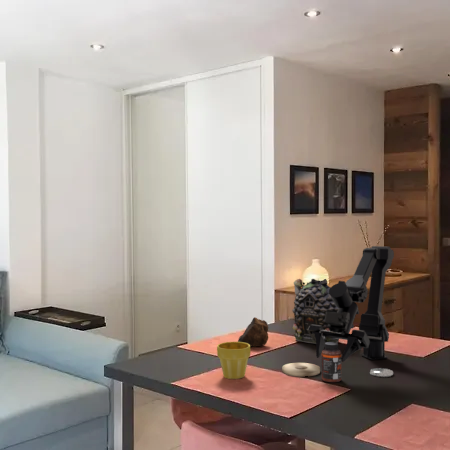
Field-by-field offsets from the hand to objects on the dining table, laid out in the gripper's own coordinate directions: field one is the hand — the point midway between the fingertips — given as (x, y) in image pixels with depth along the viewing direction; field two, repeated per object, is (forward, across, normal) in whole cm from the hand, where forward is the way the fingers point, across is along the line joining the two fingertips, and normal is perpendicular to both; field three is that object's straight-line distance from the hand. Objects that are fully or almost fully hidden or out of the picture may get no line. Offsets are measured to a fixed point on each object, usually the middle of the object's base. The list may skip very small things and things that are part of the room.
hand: (329, 359), depth 174 cm
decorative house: (-28, -28, +37) cm, 54 cm away
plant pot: (+14, -27, -4) cm, 30 cm away
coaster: (+2, -12, +8) cm, 15 cm away
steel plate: (-7, +10, +16) cm, 20 cm away
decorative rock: (-13, -44, +23) cm, 51 cm away
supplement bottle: (+4, 0, +6) cm, 7 cm away
